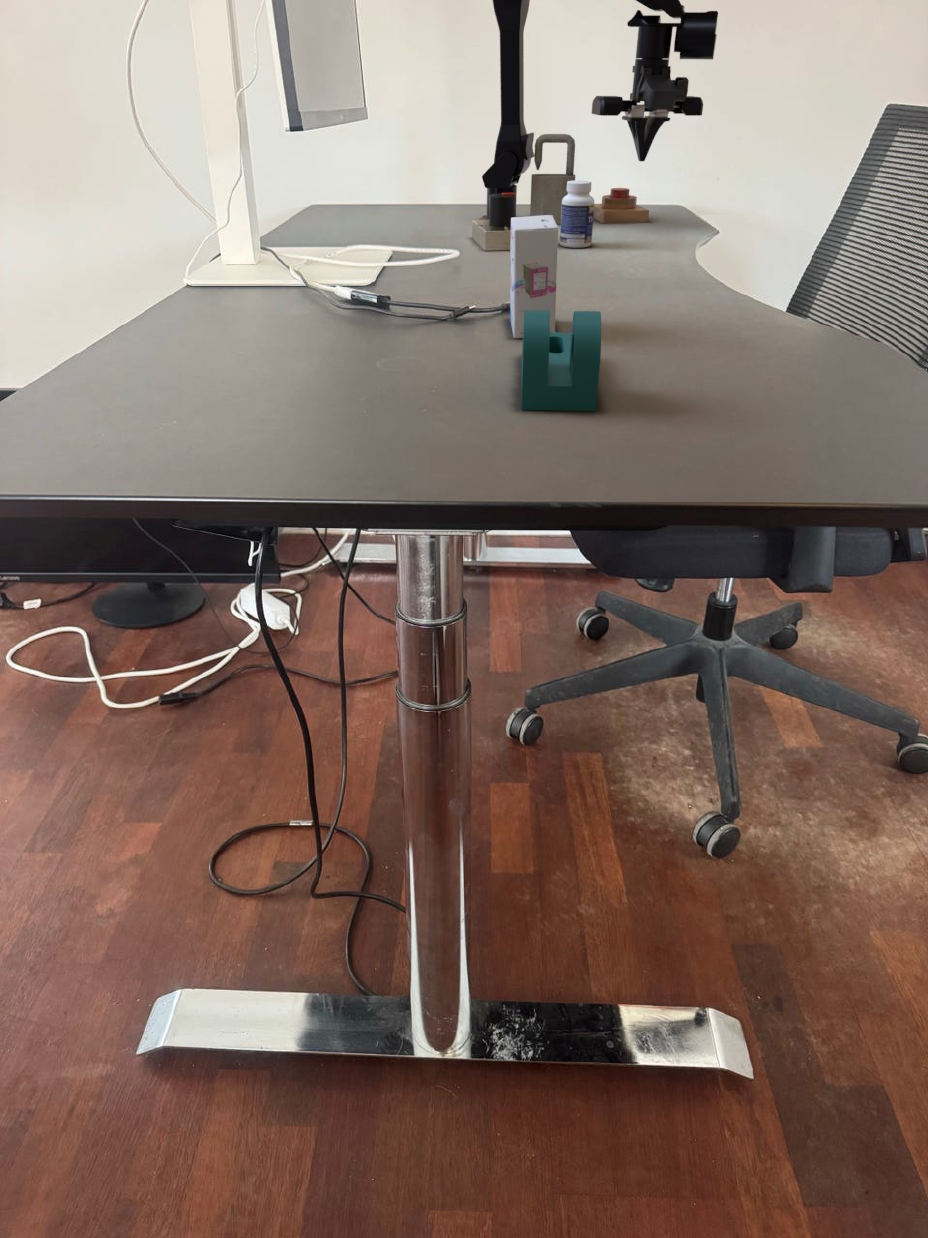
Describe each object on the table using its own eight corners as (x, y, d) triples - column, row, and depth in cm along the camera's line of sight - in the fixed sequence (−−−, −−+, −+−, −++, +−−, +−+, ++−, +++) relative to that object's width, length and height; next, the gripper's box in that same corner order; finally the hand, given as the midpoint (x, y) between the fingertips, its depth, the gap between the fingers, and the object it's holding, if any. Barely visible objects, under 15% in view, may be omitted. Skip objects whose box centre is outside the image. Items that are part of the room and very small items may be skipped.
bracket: (595, 410, 79) (603, 322, 75) (521, 409, 79) (524, 321, 75) (584, 353, 94) (589, 276, 90) (521, 352, 94) (524, 276, 90)
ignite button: (607, 197, 171) (608, 187, 170) (625, 197, 171) (626, 187, 170) (613, 200, 168) (614, 190, 167) (631, 199, 168) (632, 189, 167)
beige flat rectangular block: (470, 238, 154) (470, 218, 152) (527, 236, 155) (528, 217, 153) (483, 250, 144) (483, 230, 142) (543, 248, 145) (544, 228, 144)
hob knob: (491, 226, 146) (492, 195, 143) (486, 222, 149) (486, 191, 147) (517, 225, 146) (518, 194, 144) (511, 221, 150) (512, 190, 147)
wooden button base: (588, 215, 175) (589, 193, 173) (631, 214, 176) (633, 192, 174) (603, 223, 167) (605, 200, 165) (648, 222, 168) (650, 199, 166)
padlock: (530, 220, 170) (533, 132, 162) (572, 221, 169) (577, 133, 161) (529, 224, 167) (532, 134, 158) (572, 224, 166) (578, 134, 158)
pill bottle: (592, 248, 145) (597, 183, 140) (560, 248, 146) (564, 183, 140) (589, 242, 150) (594, 179, 145) (558, 242, 150) (561, 179, 145)
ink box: (507, 319, 106) (510, 213, 100) (548, 319, 106) (553, 213, 100) (511, 339, 99) (514, 226, 93) (555, 338, 99) (561, 225, 93)
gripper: (614, 58, 142) (604, 166, 150) (722, 59, 144) (707, 165, 153) (594, 58, 151) (587, 159, 160) (697, 59, 154) (684, 158, 162)
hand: (641, 160), depth 158 cm, fingers closed
